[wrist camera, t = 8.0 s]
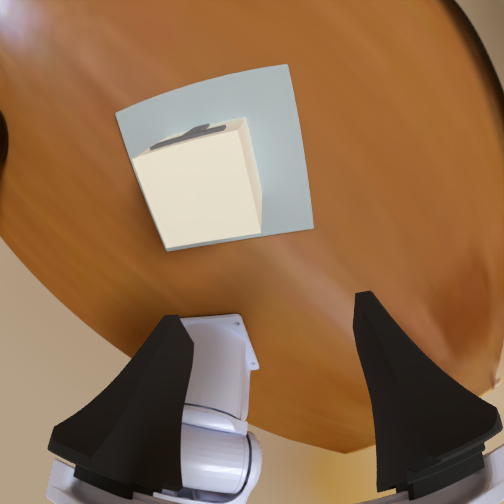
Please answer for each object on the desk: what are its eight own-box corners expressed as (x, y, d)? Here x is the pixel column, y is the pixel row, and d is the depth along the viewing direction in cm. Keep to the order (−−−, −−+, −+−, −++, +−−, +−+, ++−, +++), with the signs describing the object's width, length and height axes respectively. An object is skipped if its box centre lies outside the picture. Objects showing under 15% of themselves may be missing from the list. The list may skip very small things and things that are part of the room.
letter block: (262, 192, 17) (261, 233, 13) (188, 206, 18) (166, 248, 14) (245, 114, 14) (236, 126, 10) (165, 134, 15) (130, 155, 11)
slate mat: (313, 226, 19) (313, 228, 18) (167, 249, 20) (166, 251, 20) (287, 64, 13) (287, 64, 12) (117, 112, 14) (115, 112, 14)
